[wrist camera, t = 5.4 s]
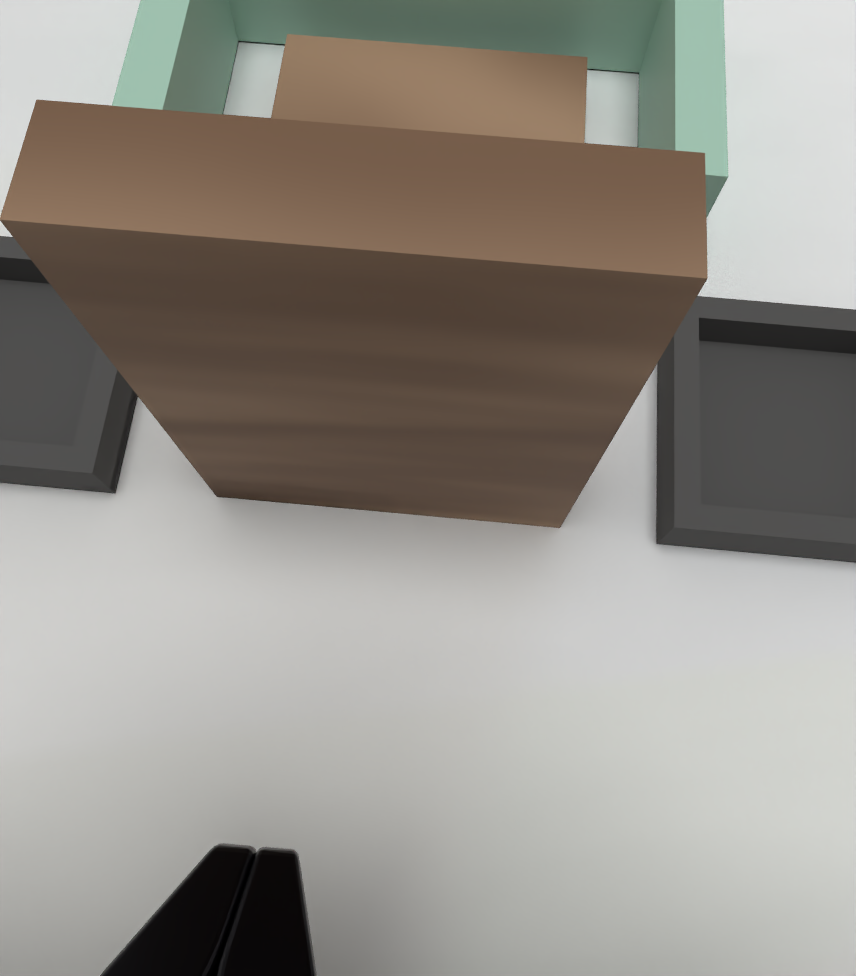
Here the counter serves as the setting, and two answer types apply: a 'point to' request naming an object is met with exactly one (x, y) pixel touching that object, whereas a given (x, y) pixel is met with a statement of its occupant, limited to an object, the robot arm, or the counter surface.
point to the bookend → (374, 275)
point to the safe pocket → (456, 23)
